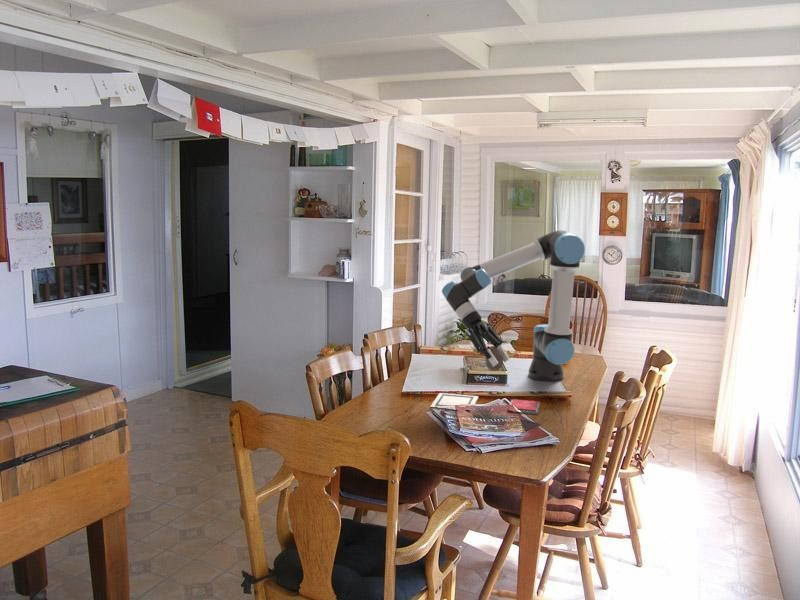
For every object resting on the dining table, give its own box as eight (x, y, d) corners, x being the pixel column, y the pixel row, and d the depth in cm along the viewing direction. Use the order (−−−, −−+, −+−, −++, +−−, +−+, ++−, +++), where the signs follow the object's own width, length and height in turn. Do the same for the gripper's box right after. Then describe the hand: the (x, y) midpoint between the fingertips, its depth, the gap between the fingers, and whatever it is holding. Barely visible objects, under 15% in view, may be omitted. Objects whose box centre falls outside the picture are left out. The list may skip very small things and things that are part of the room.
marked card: (478, 397, 276) (478, 395, 276) (471, 411, 261) (471, 409, 261) (439, 394, 280) (439, 392, 280) (430, 407, 265) (430, 405, 265)
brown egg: (504, 371, 267) (505, 349, 266) (487, 372, 266) (488, 350, 265) (499, 366, 274) (500, 345, 272) (483, 367, 273) (483, 345, 271)
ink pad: (539, 404, 268) (539, 401, 267) (537, 414, 257) (537, 410, 257) (511, 401, 271) (511, 398, 270) (507, 411, 260) (507, 408, 260)
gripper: (478, 316, 284) (510, 362, 276) (448, 325, 270) (480, 373, 262) (488, 306, 279) (521, 351, 272) (458, 314, 265) (492, 363, 258)
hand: (501, 362), depth 267 cm, fingers closed on brown egg, 7 cm apart
